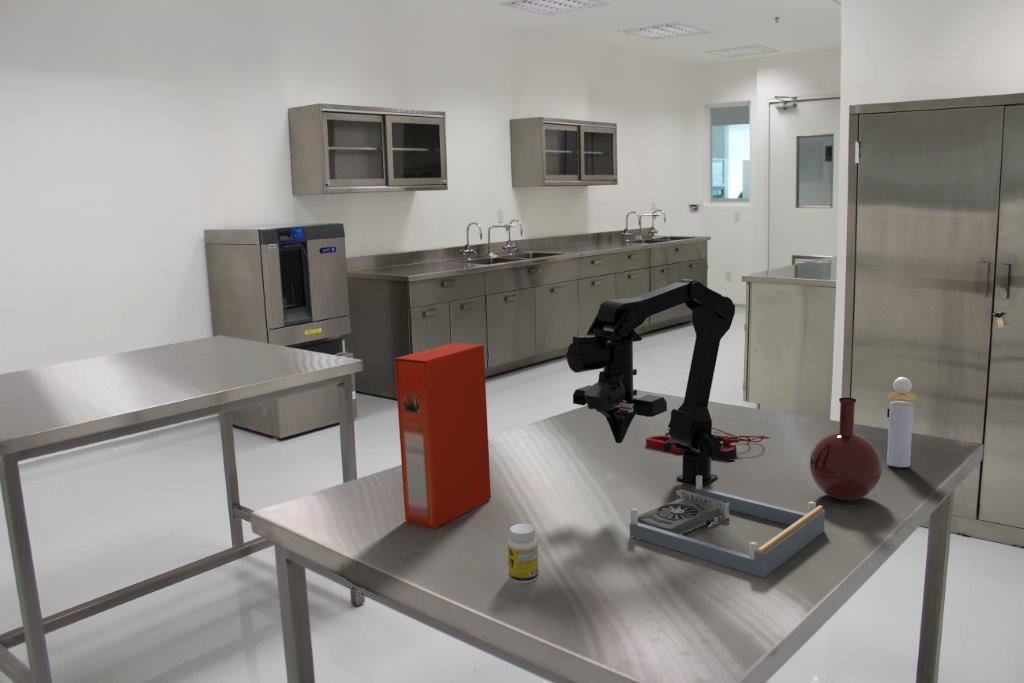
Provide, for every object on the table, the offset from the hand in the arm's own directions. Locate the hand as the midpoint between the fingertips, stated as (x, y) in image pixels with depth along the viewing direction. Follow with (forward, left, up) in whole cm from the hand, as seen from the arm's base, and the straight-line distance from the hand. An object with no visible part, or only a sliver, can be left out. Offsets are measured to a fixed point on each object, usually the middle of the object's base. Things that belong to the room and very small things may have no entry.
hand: (619, 442), depth 161 cm
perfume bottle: (-53, +36, -12) cm, 65 cm away
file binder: (+25, -23, -12) cm, 36 cm away
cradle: (+2, +24, -12) cm, 27 cm away
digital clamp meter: (-44, -5, -13) cm, 46 cm away
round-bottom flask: (-28, +34, -12) cm, 45 cm away
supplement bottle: (+37, +8, -12) cm, 40 cm away
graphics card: (+2, +14, -13) cm, 19 cm away
